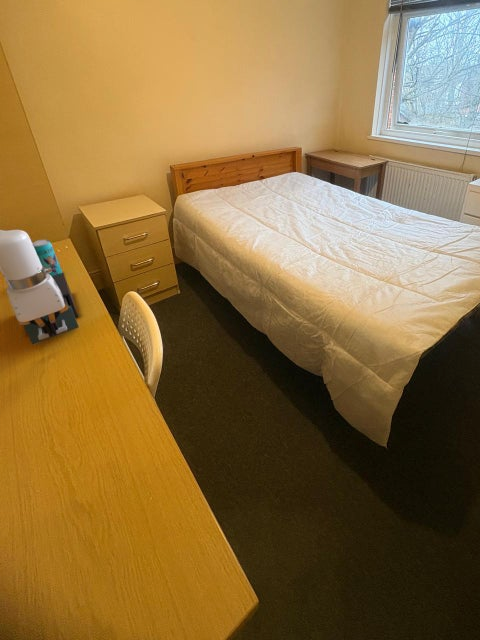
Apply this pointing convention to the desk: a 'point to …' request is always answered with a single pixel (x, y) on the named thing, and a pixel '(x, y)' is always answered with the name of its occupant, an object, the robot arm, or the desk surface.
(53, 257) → the beverage can
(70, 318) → the drawer
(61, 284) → the cabinet
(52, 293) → the robot arm
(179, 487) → the desk surface
